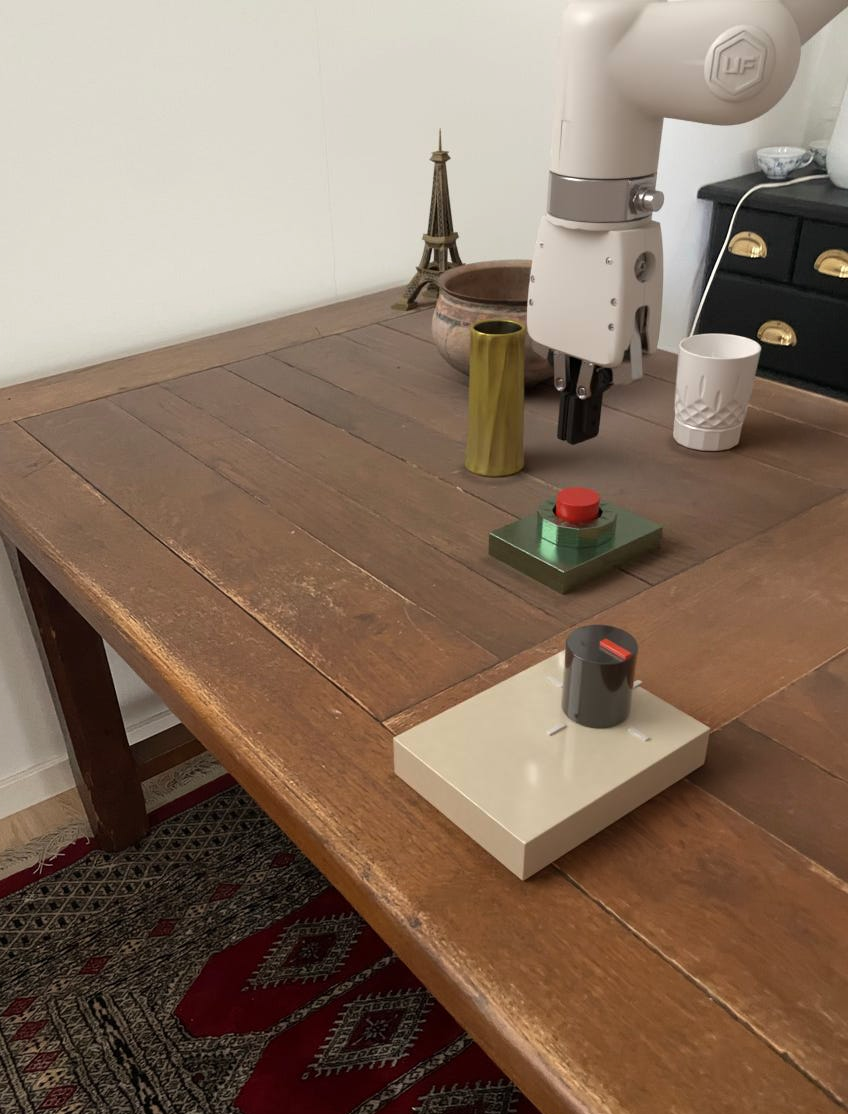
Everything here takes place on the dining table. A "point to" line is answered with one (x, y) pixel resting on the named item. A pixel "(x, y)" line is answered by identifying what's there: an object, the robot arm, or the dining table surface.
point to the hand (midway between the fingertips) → (577, 437)
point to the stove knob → (598, 675)
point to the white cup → (713, 389)
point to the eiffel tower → (434, 239)
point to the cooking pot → (484, 311)
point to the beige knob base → (544, 765)
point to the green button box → (574, 545)
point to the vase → (496, 398)
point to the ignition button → (577, 504)
